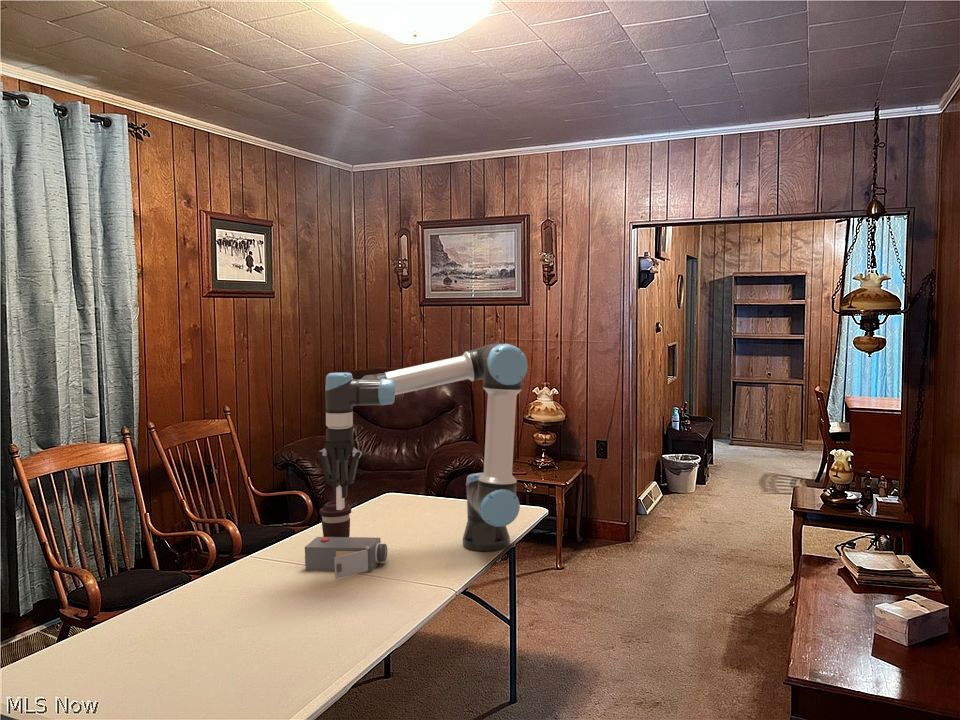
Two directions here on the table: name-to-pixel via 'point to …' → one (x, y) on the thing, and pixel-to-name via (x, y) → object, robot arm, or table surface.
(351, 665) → the table surface
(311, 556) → the camera box
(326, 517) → the coffee cup
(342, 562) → the side door
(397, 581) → the table surface
